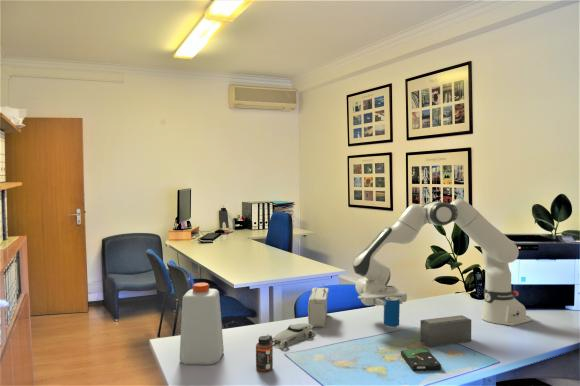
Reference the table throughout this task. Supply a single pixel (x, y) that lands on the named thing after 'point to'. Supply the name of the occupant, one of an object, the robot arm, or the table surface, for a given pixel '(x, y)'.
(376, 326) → the table surface
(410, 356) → the disk drive
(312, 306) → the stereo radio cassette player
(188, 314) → the plastic bottle
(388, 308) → the beverage can
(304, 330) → the car model
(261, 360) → the supplement bottle
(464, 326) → the box
